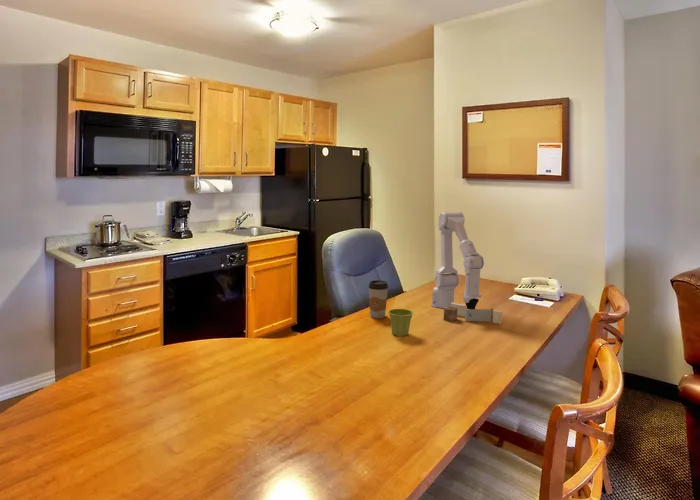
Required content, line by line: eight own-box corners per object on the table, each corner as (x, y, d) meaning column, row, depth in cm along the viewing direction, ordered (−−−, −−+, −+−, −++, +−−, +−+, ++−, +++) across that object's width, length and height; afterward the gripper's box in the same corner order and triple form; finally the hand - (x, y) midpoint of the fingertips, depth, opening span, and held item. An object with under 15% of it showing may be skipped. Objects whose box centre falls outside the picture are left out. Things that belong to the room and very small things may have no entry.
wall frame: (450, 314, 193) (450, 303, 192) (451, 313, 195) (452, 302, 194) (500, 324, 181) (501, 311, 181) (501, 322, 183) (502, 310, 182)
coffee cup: (365, 317, 187) (365, 283, 185) (371, 312, 195) (372, 279, 192) (383, 320, 184) (384, 285, 181) (389, 314, 191) (390, 281, 189)
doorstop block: (443, 320, 185) (444, 308, 185) (447, 317, 190) (448, 306, 189) (452, 322, 183) (453, 310, 182) (456, 319, 187) (457, 307, 187)
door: (466, 321, 183) (466, 309, 182) (464, 320, 185) (465, 308, 184) (493, 322, 183) (494, 310, 182) (491, 320, 185) (492, 308, 184)
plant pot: (385, 329, 172) (386, 308, 171) (409, 329, 173) (410, 308, 171) (389, 338, 163) (390, 315, 161) (415, 338, 164) (415, 315, 162)
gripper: (476, 288, 176) (474, 321, 178) (486, 282, 188) (484, 312, 190) (459, 286, 180) (457, 318, 182) (470, 279, 192) (468, 310, 194)
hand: (470, 315), depth 186 cm, fingers closed, pressing on door
